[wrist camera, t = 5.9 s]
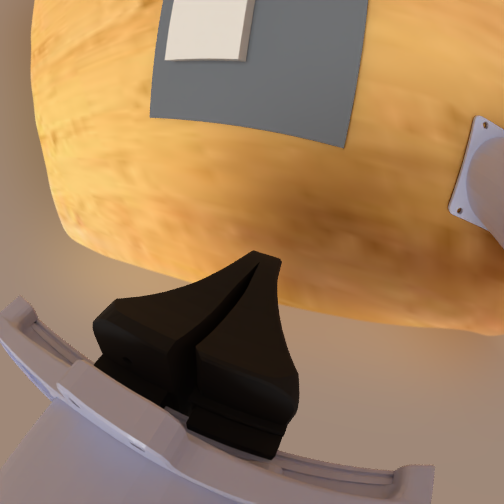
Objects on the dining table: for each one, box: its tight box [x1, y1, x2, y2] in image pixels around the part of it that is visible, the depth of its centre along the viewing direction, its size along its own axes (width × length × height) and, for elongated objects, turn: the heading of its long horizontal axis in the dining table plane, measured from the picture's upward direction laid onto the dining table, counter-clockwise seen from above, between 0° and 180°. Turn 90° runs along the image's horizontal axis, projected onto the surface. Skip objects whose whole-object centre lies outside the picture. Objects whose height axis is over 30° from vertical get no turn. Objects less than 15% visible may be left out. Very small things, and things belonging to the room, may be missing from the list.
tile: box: [165, 0, 255, 62], centre depth 14 cm, size 2×6×6 cm
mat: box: [150, 0, 368, 148], centre depth 15 cm, size 16×16×1 cm
